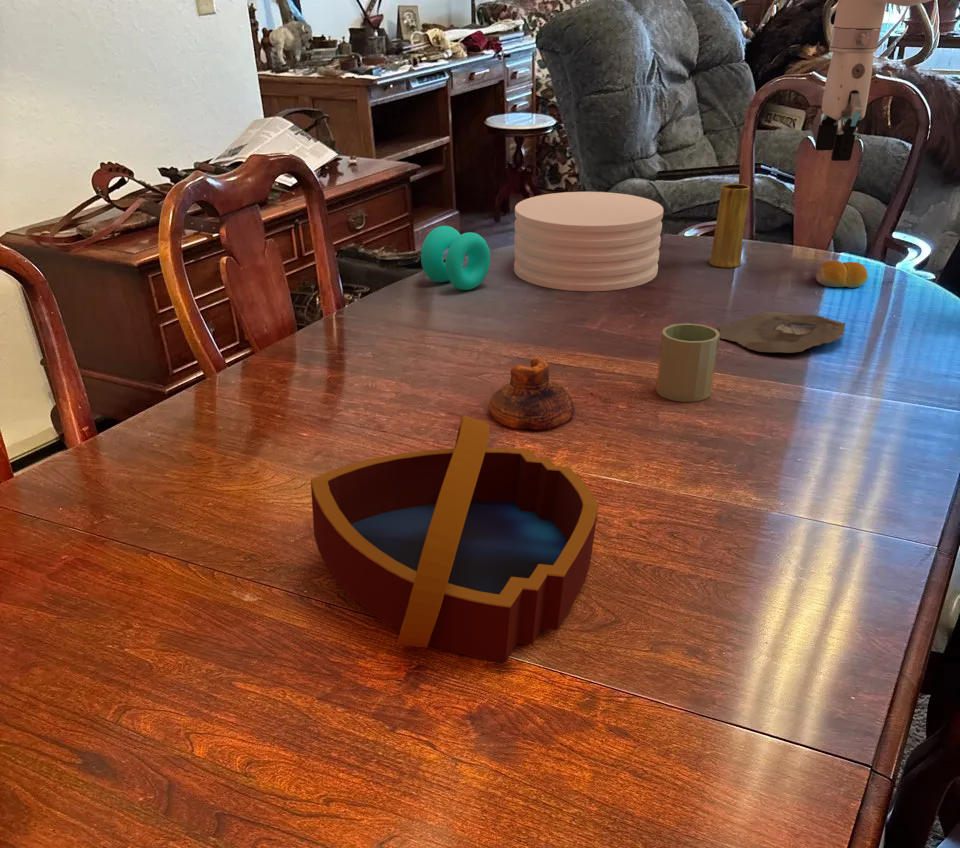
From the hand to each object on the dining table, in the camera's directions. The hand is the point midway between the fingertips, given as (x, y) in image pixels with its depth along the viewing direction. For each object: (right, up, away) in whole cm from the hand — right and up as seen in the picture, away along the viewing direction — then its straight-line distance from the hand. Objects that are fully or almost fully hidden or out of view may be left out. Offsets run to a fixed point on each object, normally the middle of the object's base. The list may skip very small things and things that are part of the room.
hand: (831, 155), depth 168 cm
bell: (-55, -54, -36) cm, 86 cm away
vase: (-13, -11, +22) cm, 28 cm away
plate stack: (-41, -13, +19) cm, 48 cm away
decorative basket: (-65, -78, -68) cm, 122 cm away
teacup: (-33, -50, -31) cm, 67 cm away
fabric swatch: (-13, -36, -12) cm, 40 cm away
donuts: (-67, -19, +12) cm, 70 cm away
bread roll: (+5, -19, +11) cm, 22 cm away
